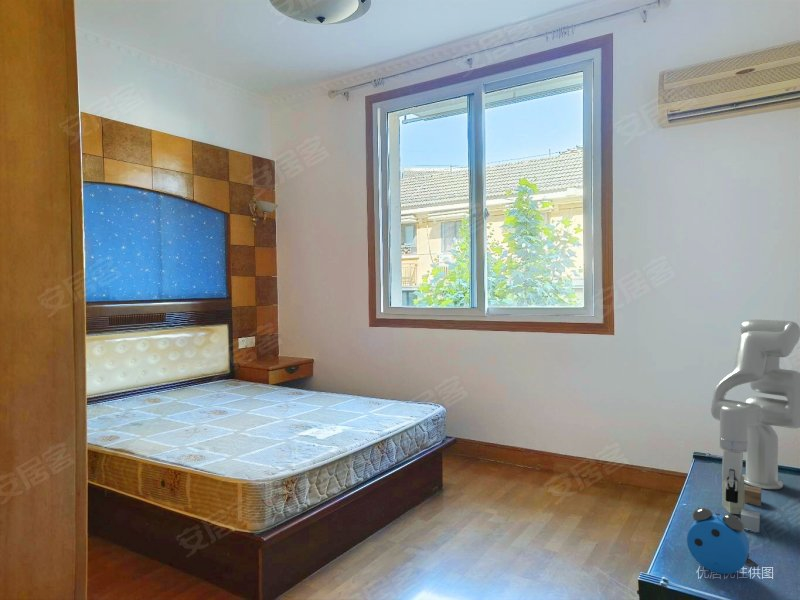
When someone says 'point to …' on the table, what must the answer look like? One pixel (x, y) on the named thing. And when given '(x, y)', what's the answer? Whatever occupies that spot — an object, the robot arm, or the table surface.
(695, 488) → the table surface
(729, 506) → the skincare box
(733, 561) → the alarm clock
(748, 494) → the walnut block
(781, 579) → the table surface
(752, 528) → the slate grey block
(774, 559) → the table surface
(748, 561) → the strap clip
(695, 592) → the table surface
